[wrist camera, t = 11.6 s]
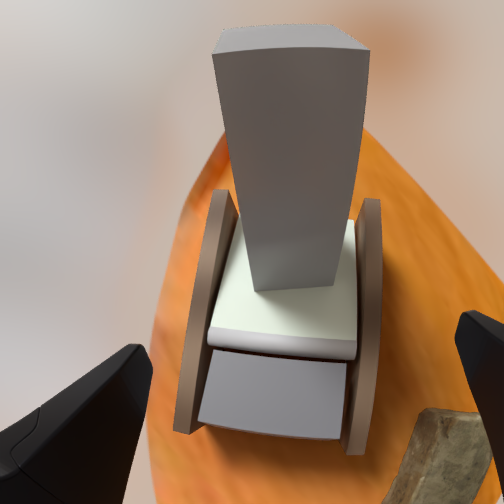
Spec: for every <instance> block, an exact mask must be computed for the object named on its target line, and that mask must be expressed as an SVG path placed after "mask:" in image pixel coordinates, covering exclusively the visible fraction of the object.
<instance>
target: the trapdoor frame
mask: <svg viewBox="0 0 504 504" xmlns="http://www.w3.org/2000/svg"><path fill="white" fill-rule="evenodd" d="M238 217H239V215H238V213H237V210H236V208H235V205H234V203H233V200H232V198H231V195H230V193H229V190H217V189H213V194H212V198H211V203H210V208H209V212H208V217H207V222H206V227H205V232H204V236H203V241H202V247H201V252H200V257H199V262H198V267H197V273H196V278H195V283H194V289H193V295H192V300H191V306H190V312H189V318H188V324H187V330H186V337H185V343H184V349H183V356H182V363H181V370H180V377H179V384H178V392H177V399H176V407H175V415H174V424H173V431H176V432H180V433H184V434H188V435H190V434H191V433H193V432H195V431H196V430H198V429H199V428H201V427H202V426H204V425H205V423H202V422H200V421H198V416H199V412H200V407H201V403H202V398H203V394H204V389H205V385H206V381H207V376H208V372H209V368H210V363H211V359H212V355H213V350H219V351H222V350H223V347H218V346H211V345H208V341H207V337H208V331H209V328H210V325H211V321H212V317H213V313H214V309H215V305H216V301H217V297H218V293H219V289H220V285H221V281H222V278H223V274H224V270H225V266H226V262H227V258H228V254H229V251H230V247H231V243H232V239H233V236H234V232H235V228H236V224H237V221H238ZM354 233H355V251H356V276H357V350H356V356H355V359H354V360H346V362H345V363H346V379H345V392H344V404H343V414H342V423H341V432H340V439H338V440H339V442H340V444H341V446H342V448H343V450H344V452H345V453H346V455H364V453H365V448H366V443H367V438H368V433H369V427H370V421H371V415H372V409H373V402H374V395H375V387H376V378H377V369H378V359H379V348H380V334H381V317H382V284H383V258H382V225H381V207H380V199H370V198H365V199H364V202H363V204H362V207H361V210H360V212H359V215H358V218H357V220H356V223H355V226H354Z"/></svg>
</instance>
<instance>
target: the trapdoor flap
mask: <svg viewBox="0 0 504 504" xmlns="http://www.w3.org/2000/svg"><path fill="white" fill-rule="evenodd" d="M207 341H208V345H211V346H218V347H224V348H231V349H238V350H246V351H253V352H262V353H270V354H280V355H289V356H300V357H312V358H326V359H343V360H354V359H355V356H356V350H357V276H356V251H355V233H354V220H348V222H347V227H346V232H345V236H344V241H343V246H342V250H341V255H340V259H339V264H338V268H337V272H336V276H335V281H334V285H333V286H325V287H312V288H299V289H285V290H270V291H254V288H253V282H252V277H251V271H250V266H249V260H248V255H247V250H246V244H245V239H244V233H243V227H242V222H241V216H240V213H239V217H238V221H237V224H236V228H235V232H234V236H233V239H232V243H231V247H230V251H229V254H228V258H227V262H226V266H225V270H224V274H223V278H222V281H221V285H220V289H219V293H218V297H217V301H216V305H215V309H214V313H213V317H212V321H211V325H210V328H209V331H208V337H207ZM345 379H346V363H328V362H314V361H302V360H291V359H281V358H271V357H263V356H255V355H247V354H239V353H232V352H226V351H219V350H213V355H212V359H211V363H210V368H209V372H208V376H207V381H206V385H205V389H204V394H203V398H202V403H201V407H200V412H199V416H198V421H200V422H202V423H205V424H208V425H211V426H214V427H219V428H225V429H230V430H236V431H242V432H248V433H254V434H261V435H269V436H277V437H287V438H297V439H310V440H328V441H329V440H335V439H340V432H341V423H342V414H343V404H344V392H345Z"/></svg>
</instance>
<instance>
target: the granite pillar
mask: <svg viewBox="0 0 504 504" xmlns="http://www.w3.org/2000/svg"><path fill="white" fill-rule="evenodd" d="M212 58H213V64H214V70H215V75H216V81H217V87H218V93H219V98H220V103H221V110H222V115H223V121H224V127H225V132H226V138H227V144H228V149H229V155H230V161H231V166H232V172H233V177H234V183H235V189H236V194H237V200H238V205H239V211H240V216H241V222H242V227H243V233H244V239H245V244H246V250H247V255H248V260H249V266H250V271H251V277H252V282H253V288H254V291H270V290H285V289H299V288H312V287H325V286H333V285H334V281H335V276H336V272H337V268H338V264H339V259H340V255H341V250H342V246H343V241H344V236H345V232H346V227H347V222H348V217H349V212H350V206H351V201H352V195H353V190H354V184H355V178H356V172H357V165H358V159H359V152H360V145H361V138H362V130H363V122H364V114H365V105H366V95H367V85H368V73H369V58H370V50H369V49H368V48H366V47H365V46H364V45H362V44H361V43H359V42H358V41H356V40H355V39H353V38H352V37H350V36H349V35H348V34H346V33H344V32H343V31H341V30H340V29H338V28H337V27H335V26H333V25H320V24H319V25H318V24H283V25H263V26H250V27H241V28H231V29H224V30H223V31H222V33H221V35H220V38H219V40H218V42H217V44H216V46H215V48H214V51H213V53H212Z"/></svg>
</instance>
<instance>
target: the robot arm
mask: <svg viewBox="0 0 504 504" xmlns="http://www.w3.org/2000/svg"><path fill="white" fill-rule="evenodd" d="M455 344H456V347H457V350H458V353H459V356H460V359H461V362H462V365H463V368H464V372H465V375H466V378H467V381H468V384H469V387H470V390H471V392H472V395H473V398H474V400H475V403H476V405H477V408H478V411H479V414H480V416H481V419H482V422H483V425H484V428H485V431H486V434H487V437H488V440H489V444H490V447H491V450H492V454H493V457H494V461H495V465H496V469H497V472H498V477H499V481H500V485H501V490H502V494H503V497H504V324H503V323H500V322H498V321H496V320H494V319H492V318H490V317H488V316H486V315H484V314H482V313H480V312H478V311H476V310H470V311H466V312H463V313H462V314H461V316H460V319H459V322H458V326H457V329H456V333H455ZM152 374H153V367H152V363H151V361H150V359H149V357H148V354H147V352H146V350H145V348H144V346H143V345H141V344H128V345H126V346H125V347H124V348H122V349H121V350H119V351H118V352H117V353H115V354H114V355H112V356H111V357H110V358H108V359H107V360H105V361H104V362H102V363H101V364H100V365H98V366H97V367H95V368H94V369H92V370H91V371H90V372H88V373H87V374H85V375H84V376H82V377H81V378H80V379H78V380H77V381H75V382H74V383H73V384H71V385H70V386H68V387H67V388H66V389H64V390H63V391H61V392H60V393H58V394H57V395H55V396H54V397H53V398H51V399H50V400H48V401H47V402H46V403H44V404H43V405H41V407H38V408H37V409H36V410H34V411H33V412H31V413H30V414H29V415H27V416H25V417H24V418H22V419H21V420H19V421H18V422H16V423H14V424H13V425H11V426H9V427H8V428H6V429H4V430H3V431H1V432H0V504H122V502H123V499H124V494H125V490H126V486H127V482H128V478H129V474H130V470H131V466H132V462H133V459H134V455H135V451H136V447H137V444H138V440H139V436H140V432H141V429H142V426H143V422H144V418H145V414H146V408H147V402H148V397H149V391H150V385H151V380H152ZM503 500H504V498H503Z"/></svg>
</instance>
